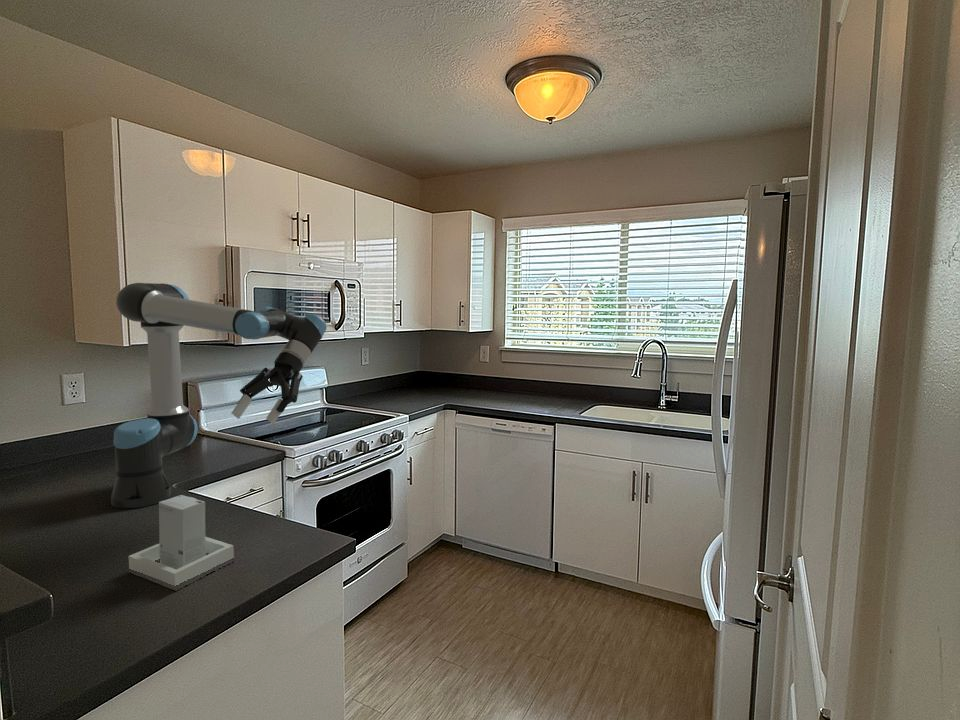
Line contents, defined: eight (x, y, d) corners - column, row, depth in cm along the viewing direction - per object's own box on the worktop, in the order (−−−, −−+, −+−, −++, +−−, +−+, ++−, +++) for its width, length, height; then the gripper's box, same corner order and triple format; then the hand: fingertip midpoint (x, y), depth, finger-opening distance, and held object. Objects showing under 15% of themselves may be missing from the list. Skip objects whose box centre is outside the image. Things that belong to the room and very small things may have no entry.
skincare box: (159, 566, 117) (155, 502, 115) (184, 554, 122) (180, 493, 121) (184, 574, 113) (180, 509, 112) (209, 562, 119) (205, 499, 117)
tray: (129, 573, 115) (128, 556, 115) (189, 546, 128) (188, 531, 127) (175, 591, 108) (174, 573, 108) (234, 561, 121) (233, 545, 120)
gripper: (331, 369, 152) (293, 431, 141) (269, 364, 163) (230, 420, 152) (317, 352, 147) (277, 415, 135) (254, 348, 158) (212, 406, 146)
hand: (252, 418), depth 143 cm, fingers open, 13 cm apart
